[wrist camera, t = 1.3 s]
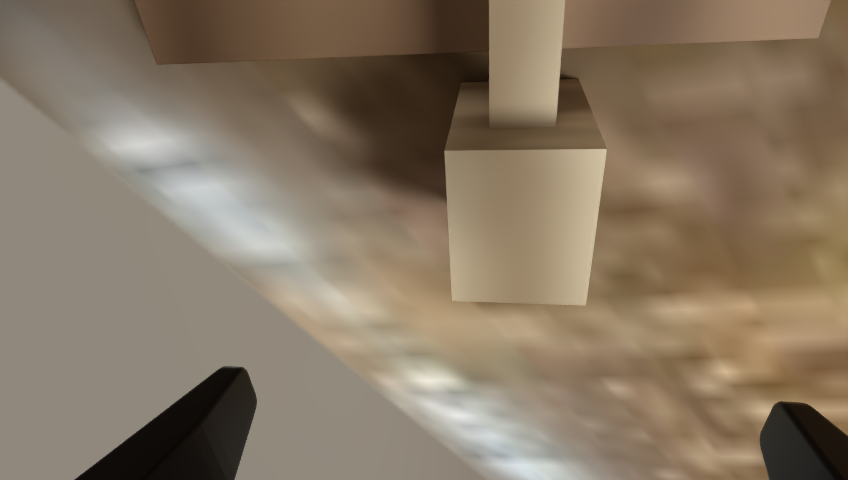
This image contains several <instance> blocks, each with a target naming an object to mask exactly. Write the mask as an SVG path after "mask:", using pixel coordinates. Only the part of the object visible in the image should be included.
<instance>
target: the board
mask: <svg viewBox="0 0 848 480" xmlns="http://www.w3.org/2000/svg"><path fill="white" fill-rule="evenodd" d="M134 1H135V4H136V7H137V10H138V12H139V15H140V18H141V21H142V24H143V27H144V30H145V32H146V35H147V38H148V41H149V44H150V47H151V50H152V53H153V55H154V58H155V61H156V64H157V65H162V64H186V63H211V62H236V61H261V60H285V59H310V58H335V57H359V56H384V55H409V54H433V53H458V52H483V51H489V0H134ZM830 1H831V0H565V10H564V23H563V37H562V48H582V47H606V46H631V45H656V44H680V43H705V42H730V41H754V40H779V39H804V38H818V37H819V34H820V31H821V28H822V25H823V22H824V19H825V16H826V13H827V10H828V7H829V4H830Z"/></svg>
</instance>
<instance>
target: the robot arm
mask: <svg viewBox="0 0 848 480" xmlns="http://www.w3.org/2000/svg"><path fill="white" fill-rule="evenodd" d="M256 405H257V399H256V394H255V391H254V388H253V386H252V383H251V380H250V377H249V374H248V372H247V370H246V369H245V368H243V367H233V366H224V367H222V368H220V369H218V370H217V371H216V372H214V373H213V374H212V375H210V376H209V377H208V378H206V379H205V380H204V381H203V382H201V383H200V384H199V385H197V386H196V387H195V388H194V389H192V390H191V391H189V392H188V393H187V394H186V395H184V396H183V397H182V398H180V399H179V400H178V401H176V402H175V403H174V404H173V405H171V406H170V407H169V408H167V409H166V410H165V411H164V412H162V413H161V414H160V415H158V416H157V417H156V418H154V419H153V420H152V421H150V422H149V423H148V424H146V425H145V426H144V427H143V428H141V429H140V430H139V431H137V432H136V433H135V434H133V435H132V436H131V437H129V438H128V439H127V440H126V441H124V442H123V443H122V444H120V445H119V446H118V447H117V448H115V449H114V450H113V451H112V452H110V453H109V454H107V455H106V456H105V457H103V458H102V459H101V460H100V461H98V462H97V463H96V464H94V465H93V466H92V467H90V468H89V469H88V470H86V471H85V472H84V473H83V474H81V475H80V476H79V477H77V478H76V479H75V480H234V479H235V476H236V473H237V470H238V466H239V463H240V460H241V456H242V453H243V449H244V446H245V443H246V440H247V436H248V433H249V430H250V427H251V423H252V420H253V417H254V413H255V410H256ZM760 447H761V451H762V454H763V458H764V462H765V465H766V469H767V473H768V476H769V480H848V436H847V435H846V434H845V433H844V432H842V431H841V430H840V429H839V428H837V427H836V426H835V425H834V424H832V423H831V422H830V421H829V420H828V419H826V418H825V417H824V416H823V415H821V414H820V413H819V412H818V411H816V410H815V409H814V408H813V407H811V406H809V405H808V404H805V403H799V402H783V401H781V402H778V403H776V404H775V405H774V406H773V408H772V410H771V412H770V414H769V416H768V418H767V420H766V422H765V425H764V427H763V429H762V431H761V434H760Z"/></svg>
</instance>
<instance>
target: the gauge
mask: <svg viewBox="0 0 848 480" xmlns="http://www.w3.org/2000/svg"><path fill="white" fill-rule="evenodd" d="M564 10H565V0H489V82H461V86H460V90H459V94H458V98H457V102H456V106H455V110H454V114H453V118H452V122H451V126H450V130H449V134H448V138H447V142H446V146H445V150H444V153H445V172H446V191H447V211H448V230H449V249H450V268H451V287H452V301H472V302H502V303H532V304H562V305H586V300H587V293H588V285H589V278H590V271H591V263H592V256H593V248H594V241H595V233H596V226H597V218H598V211H599V204H600V196H601V189H602V181H603V174H604V166H605V159H606V152H607V148H606V146H605V143H604V141H603V138H602V136H601V133H600V131H599V128H598V126H597V123H596V121H595V118H594V116H593V113H592V111H591V108H590V106H589V104H588V101H587V99H586V96H585V94H584V91H583V89H582V86H581V84H580V81H579V79H559V77H560V64H561V50H562V37H563V23H564Z"/></svg>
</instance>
